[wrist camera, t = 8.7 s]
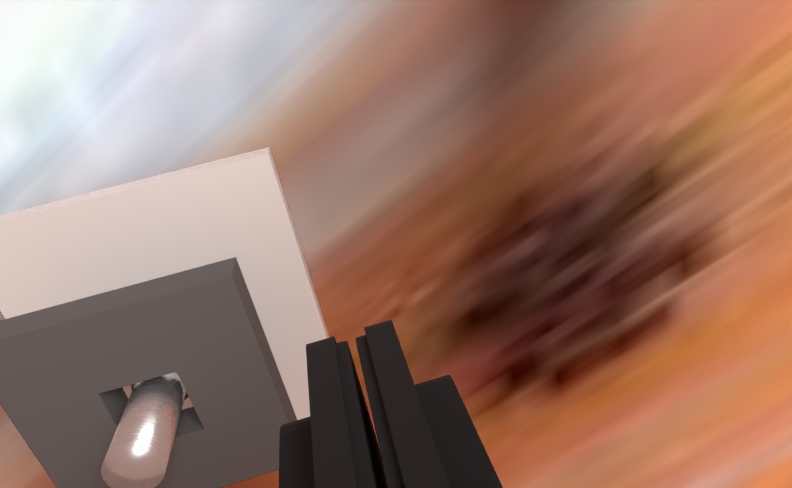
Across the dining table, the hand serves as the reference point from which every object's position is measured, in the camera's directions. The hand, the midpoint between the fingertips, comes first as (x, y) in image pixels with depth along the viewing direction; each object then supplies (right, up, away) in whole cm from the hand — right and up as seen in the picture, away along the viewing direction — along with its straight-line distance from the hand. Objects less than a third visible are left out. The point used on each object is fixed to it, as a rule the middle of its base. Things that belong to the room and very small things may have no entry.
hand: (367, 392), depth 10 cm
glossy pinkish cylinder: (-15, -4, +28) cm, 32 cm away
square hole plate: (-14, -6, +23) cm, 28 cm away
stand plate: (-16, -3, +30) cm, 34 cm away
